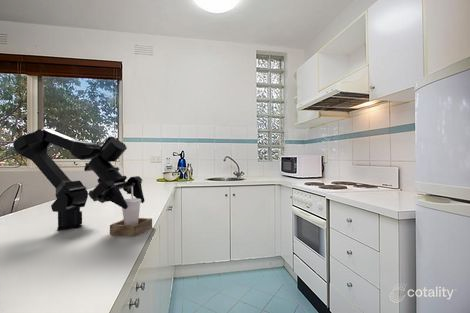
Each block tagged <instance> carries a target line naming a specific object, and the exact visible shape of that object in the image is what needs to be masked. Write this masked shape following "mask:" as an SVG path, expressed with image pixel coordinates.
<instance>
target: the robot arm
mask: <svg viewBox="0 0 470 313" xmlns="http://www.w3.org/2000/svg"><path fill="white" fill-rule="evenodd" d="M12 143H13V144H12V147H13V149H14V151H15V152H16V153H17V154H18V155H20V156H21V157H23V158H25V159H28V160H30V161H31V162H32V163H33V164H34V165H35V166H36V167H37V168H38V170H39V171H40V172H41V173H42V174H43V175H44V176H45V178H46V179H47V181H49V183H50V185H52V186H53V188H55V198H56V199H55V200H54V202H53V203H52V204H51V206H50V207H51V211H52V212H54V213H57V229H56V230H57V231H61V230H69V229H74V228H81V226H82V224H83V211H81V208H84V207H85V206H86V203H87V200H88V198H90V199H91V200H93V202H99V203H101V204H104V203H106V202H111V203H113V204H114V205H117V206H118V207H120V208H121V209H122V208H124V209H127V208H128V206H127V203H126V201H125V199H126V198H124V195H123V193H122V192H121V190H123V191H124V192H125V193H126V194H127V195H131V187H133V198H139V199H141V203H140V204H143V203H144V202H145V200H146V199H145V196H144V193H143V186H142V183H143V179H142V177H141V176H139V175H138V176H137V175H136V176H135V175H134V176H130V177H129V179H128V177H127V175H122V174H121V172H119V171H120V168H119V167H118V166H116V167H115V166H114V165H113V163H111V162H117V161H118V159H120V157H121V156H122V155H123V153H125V151H126V150H127V145H126V144H125V143H124V142H122V141H120V140H119V139H117V138H115V137H114V136H108V137H107V138H106V140H105V141H104V142H103V144H102V145H100V144H98V143H96V142H88V141H83V140H82V141H81V140H78V139H75V138H73V137H70V136H68V135H65V134H63V133H60V132H57V131H55V130H54V129H48V128H39V129H37V130H36V131H33V132H30V133H26V134H23V135H21V136H19V137H17V138H16V139H15V140H14V142H12ZM51 144H52V145H55V146H57V147H59V148H62V149H64V150H67V151H68V152H69V153H70V154H71V156H74V158H76V159H78V160H80V161H81V160H82V161H83V160H84V161H85V160H90V161H88V162H85V163H84V164H85V165H84V170H83V171H84V172H90V171H92V172H93V173H94V174H95V175H96V176H97V177H98V179H97V183H98V184H97V185H96V186H95V187H94V188H93V189H92V190H89V191H88V190H87V187H86V186H85V185H84V184H83V183H82V181H80V180H71V179H70V178H69V177H68V176H67V175H66V173H65V172H64V171H63V170H62V168H60V167H59V165H58V164H57V163H56V162H55V161H54V159H53V158H52V157H51V156H50V154H48V148H49V147H50V146H51Z"/></svg>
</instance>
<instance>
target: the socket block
mask: <svg viewBox="0 0 470 313" xmlns="http://www.w3.org/2000/svg"><path fill="white" fill-rule="evenodd" d="M152 228H153V218H151V217H150V218H146V217H145V218H144V217H139V220H138V225H136V226H132V225H124V218H123V219H121V220H118V221H117V222H113V223H112V224H109V235H110V236H125V237H126V236H127V237H128V236H129V237H138V236H140V235H141V234H143V233H145V232H146V231H148V230H150V229H152Z"/></svg>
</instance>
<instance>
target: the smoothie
mask: <svg viewBox="0 0 470 313" xmlns="http://www.w3.org/2000/svg"><path fill="white" fill-rule="evenodd" d="M124 199H125V201H126V203H127V206H128V208H127V209H124V208H122V207H121V209H122V210H121V211H122V218H123V219H124V225H132V226H136V225H138V220H139V218H140V209H141V204H142V203H141V199H139V198H136V197H134V196H133V187H131V194H130V198H124Z"/></svg>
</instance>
